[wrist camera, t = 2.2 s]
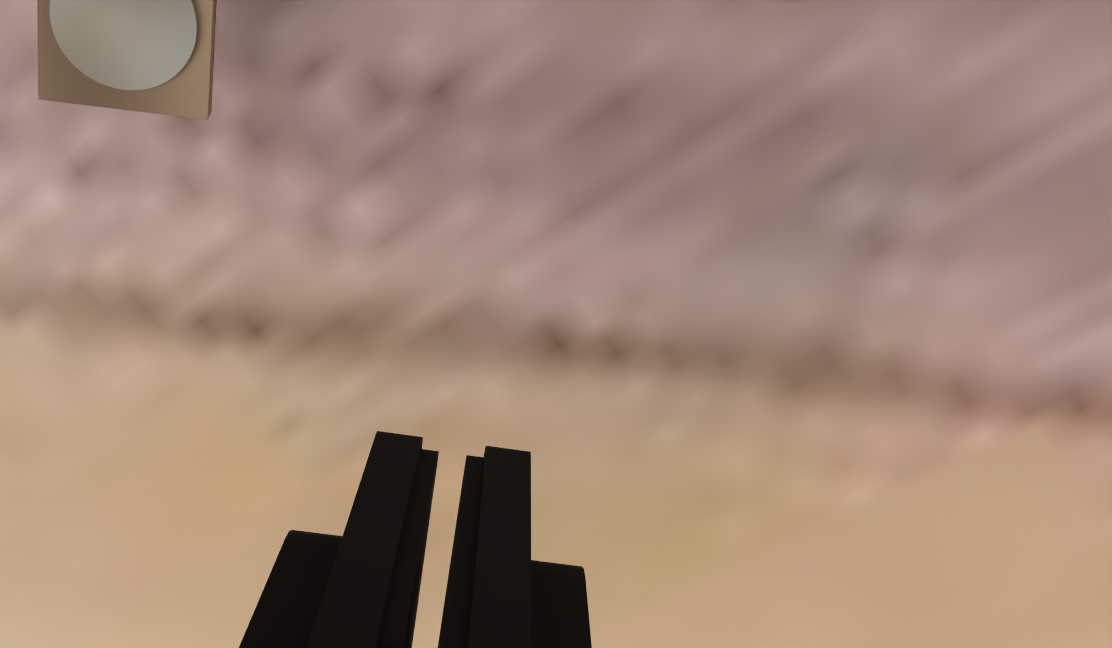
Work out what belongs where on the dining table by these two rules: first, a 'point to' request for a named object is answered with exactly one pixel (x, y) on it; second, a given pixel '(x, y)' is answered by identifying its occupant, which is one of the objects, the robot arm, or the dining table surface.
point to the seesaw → (128, 54)
